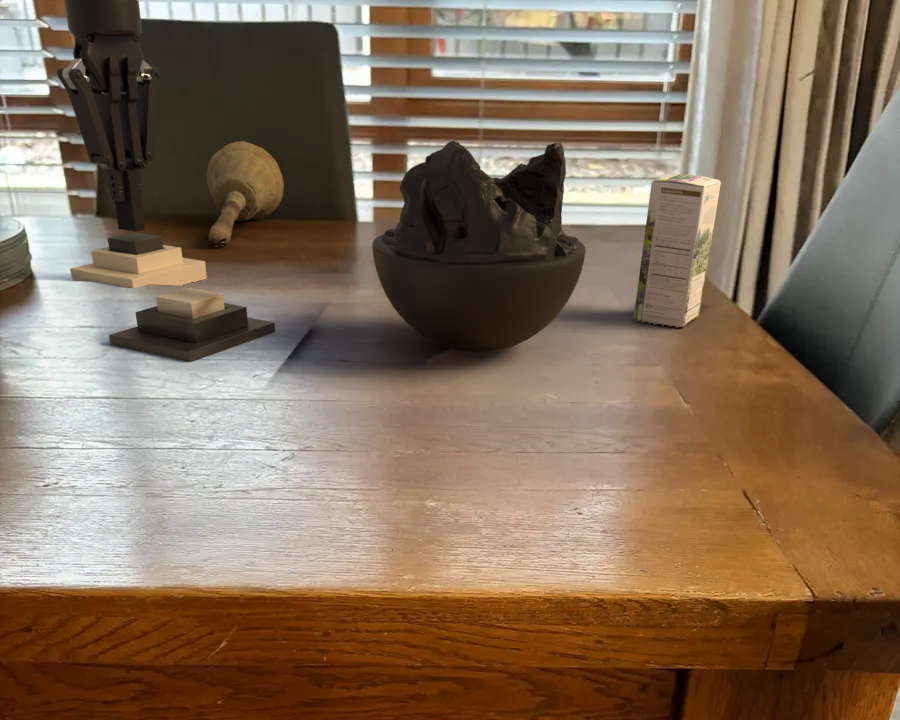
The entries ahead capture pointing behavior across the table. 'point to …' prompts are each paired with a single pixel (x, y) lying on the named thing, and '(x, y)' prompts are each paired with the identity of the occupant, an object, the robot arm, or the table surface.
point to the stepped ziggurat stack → (140, 268)
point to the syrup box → (676, 249)
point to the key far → (135, 243)
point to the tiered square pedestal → (191, 333)
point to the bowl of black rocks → (480, 250)
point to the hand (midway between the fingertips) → (131, 229)
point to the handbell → (242, 186)
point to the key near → (190, 303)
